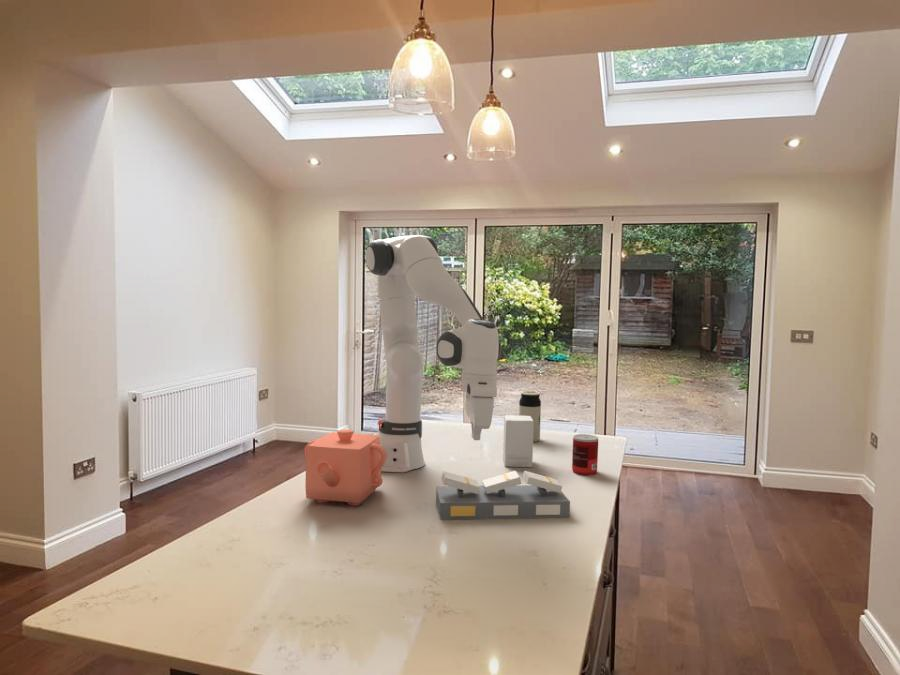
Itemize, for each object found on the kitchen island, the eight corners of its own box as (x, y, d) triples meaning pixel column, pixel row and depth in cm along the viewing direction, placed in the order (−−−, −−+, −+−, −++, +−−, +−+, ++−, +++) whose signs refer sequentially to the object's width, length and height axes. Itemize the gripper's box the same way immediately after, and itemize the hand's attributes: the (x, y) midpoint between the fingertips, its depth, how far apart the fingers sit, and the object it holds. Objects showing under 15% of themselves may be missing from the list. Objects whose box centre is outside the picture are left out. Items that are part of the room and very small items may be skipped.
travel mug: (515, 440, 234) (516, 392, 233) (522, 436, 241) (524, 389, 240) (535, 443, 231) (536, 394, 229) (542, 439, 238) (544, 391, 236)
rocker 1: (443, 484, 155) (445, 477, 155) (441, 477, 161) (443, 470, 161) (477, 494, 156) (480, 486, 156) (474, 487, 162) (476, 479, 162)
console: (440, 519, 152) (440, 496, 152) (436, 501, 165) (436, 480, 165) (569, 517, 155) (570, 495, 155) (555, 499, 168) (556, 479, 168)
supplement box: (532, 467, 199) (534, 420, 197) (504, 467, 199) (505, 420, 198) (529, 460, 208) (531, 415, 207) (502, 459, 208) (503, 414, 207)
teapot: (365, 521, 150) (365, 447, 148) (277, 513, 154) (277, 441, 153) (395, 489, 174) (396, 426, 173) (318, 483, 179) (318, 421, 177)
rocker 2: (487, 493, 157) (485, 486, 156) (483, 486, 162) (481, 479, 162) (521, 483, 157) (519, 476, 157) (517, 477, 163) (515, 470, 163)
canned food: (595, 468, 199) (596, 434, 198) (598, 476, 191) (600, 440, 190) (570, 467, 199) (571, 433, 199) (573, 475, 192) (574, 439, 191)
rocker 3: (526, 483, 157) (529, 476, 157) (522, 477, 163) (524, 469, 163) (560, 493, 159) (562, 485, 158) (554, 486, 164) (556, 479, 164)
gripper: (461, 378, 167) (458, 429, 168) (471, 390, 147) (468, 448, 148) (484, 379, 168) (481, 430, 169) (498, 391, 148) (495, 449, 149)
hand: (475, 439), depth 158 cm, fingers closed
